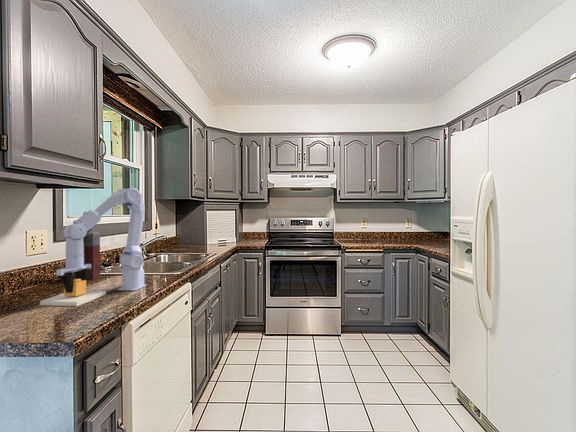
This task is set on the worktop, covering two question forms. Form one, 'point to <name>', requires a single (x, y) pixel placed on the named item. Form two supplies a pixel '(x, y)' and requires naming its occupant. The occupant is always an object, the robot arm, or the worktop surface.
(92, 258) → the glass decanter
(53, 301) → the plate
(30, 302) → the worktop surface
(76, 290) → the orange cube with dome
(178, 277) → the worktop surface
